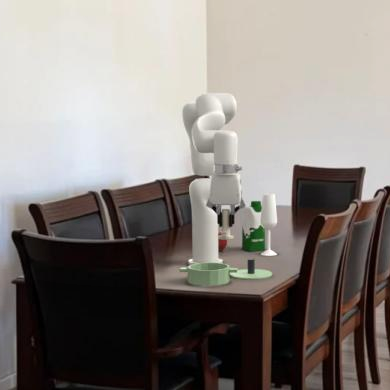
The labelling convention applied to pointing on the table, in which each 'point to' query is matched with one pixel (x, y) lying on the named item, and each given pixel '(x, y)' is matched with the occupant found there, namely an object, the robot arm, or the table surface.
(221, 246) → the onion
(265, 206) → the champagne flute
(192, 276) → the pot
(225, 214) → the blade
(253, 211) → the milk carton
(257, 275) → the lid
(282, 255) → the table surface
